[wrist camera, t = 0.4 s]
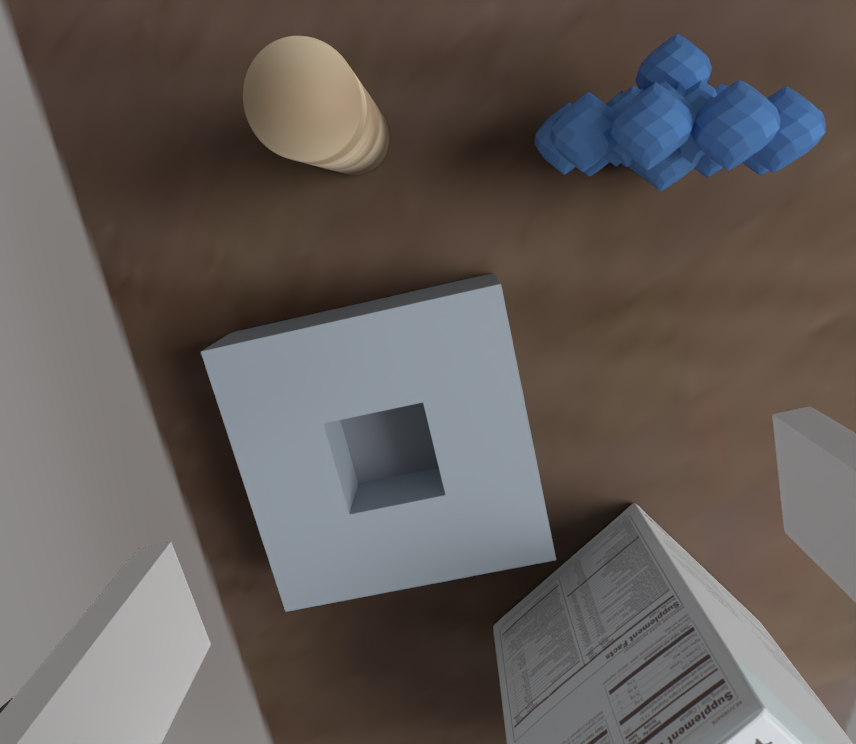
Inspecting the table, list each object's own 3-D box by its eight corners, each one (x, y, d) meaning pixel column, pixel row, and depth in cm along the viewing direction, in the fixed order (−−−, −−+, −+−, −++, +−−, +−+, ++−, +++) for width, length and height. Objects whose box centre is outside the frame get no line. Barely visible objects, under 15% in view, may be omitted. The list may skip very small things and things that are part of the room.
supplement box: (486, 625, 44) (514, 894, 27) (633, 497, 41) (767, 705, 24) (619, 739, 46) (723, 1055, 29) (767, 624, 43) (976, 897, 26)
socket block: (230, 332, 39) (200, 351, 34) (493, 273, 38) (500, 283, 33) (303, 565, 43) (285, 611, 38) (542, 518, 41) (556, 560, 37)
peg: (309, 108, 35) (228, 52, 22) (380, 90, 35) (341, 22, 22) (328, 182, 36) (262, 172, 23) (397, 166, 36) (371, 145, 23)
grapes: (749, 62, 34) (905, -8, 23) (732, 194, 36) (869, 191, 25) (529, 59, 35) (574, -12, 23) (523, 191, 36) (561, 186, 25)
